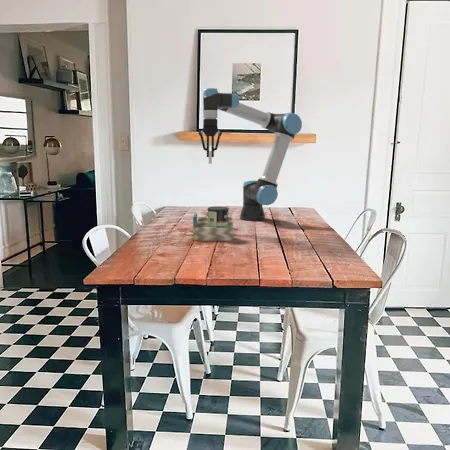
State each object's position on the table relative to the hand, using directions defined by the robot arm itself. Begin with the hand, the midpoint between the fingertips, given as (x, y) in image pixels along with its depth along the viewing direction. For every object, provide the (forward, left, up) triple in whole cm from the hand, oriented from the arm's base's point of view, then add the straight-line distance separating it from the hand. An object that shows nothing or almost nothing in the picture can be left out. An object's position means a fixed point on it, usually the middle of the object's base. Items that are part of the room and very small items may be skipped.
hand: (210, 163), depth 252 cm
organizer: (-3, +21, -34) cm, 40 cm away
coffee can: (-5, +29, -34) cm, 45 cm away
